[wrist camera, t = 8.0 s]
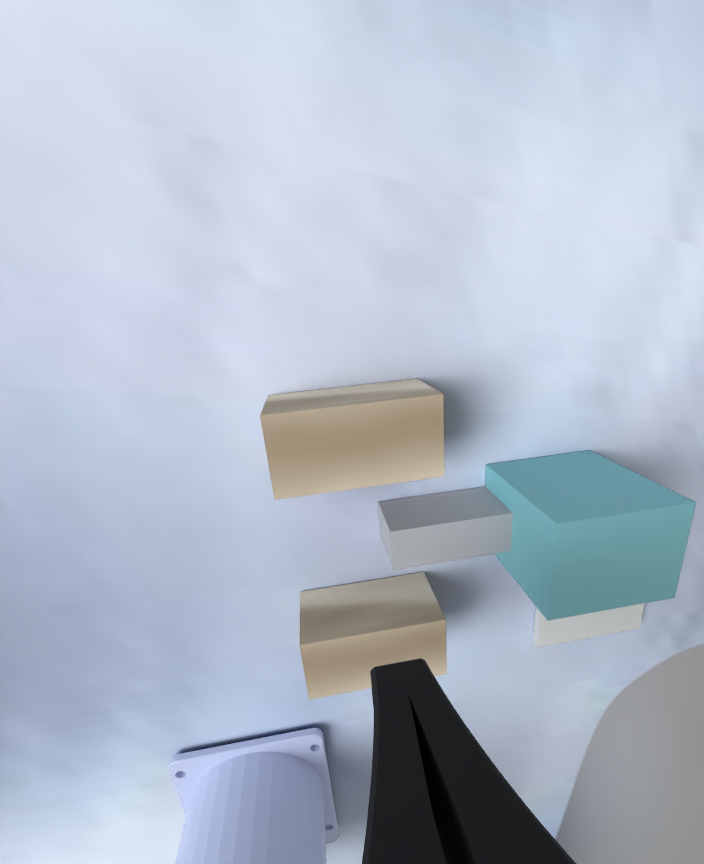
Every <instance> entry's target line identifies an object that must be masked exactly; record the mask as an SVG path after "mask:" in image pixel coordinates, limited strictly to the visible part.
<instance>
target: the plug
mask: <svg viewBox="0 0 704 864" xmlns="http://www.w3.org/2000/svg"><path fill="white" fill-rule="evenodd" d="M695 505H696V502H695V501H693V500H690V499H688V498H686V497H684V496H682V495H680V494H678V493H676V492H674V491H672V490H670V489H668V488H666V487H664V486H662V485H660V484H658V483H656V482H654V481H652V480H650V479H648V478H645V477H643V476H641V475H639V474H637V473H635V472H633V471H631V470H629V469H627V468H625V467H623V466H621V465H619V464H617V463H615V462H613V461H611V460H609V459H607V458H605V457H603V456H600V455H598V454H596V453H594V452H592V451H590V450H586V451H579V452H572V453H564V454H557V455H550V456H543V457H536V458H528V459H521V460H514V461H507V462H500V463H492V464H486V477H485V487H478V488H471V489H464V490H457V491H450V492H443V493H436V494H429V495H422V496H416V497H409V498H402V499H395V500H388V501H381V502H378V506H379V519H380V532H381V538H382V541H383V544H384V547H385V550H386V553H387V555H388V558H389V561H390V564H391V567H392V570H398V569H404V568H410V567H416V566H423V565H429V564H435V563H441V562H447V561H453V560H459V559H466V558H472V557H478V556H484V555H490V554H495V555H496V556H497V558H498V559H499V560H500V561H501V563H502V564H503V565H504V566H505V568H506V569H507V570H508V571H509V573H510V574H511V575H512V577H513V578H514V579H515V580H516V582H517V583H518V584H519V585H520V587H521V588H522V589H523V590H524V592H525V593H526V594H527V595H528V597H529V598H530V599H531V601H532V602H533V603H534V604H535V606H536V607H537V608H538V609H539V611H540V612H541V613H542V614H543V616H544V617H545V618H546V619H547V621H550V620H555V619H561V618H566V617H572V616H577V615H583V614H588V613H594V612H599V611H604V610H610V609H615V608H621V607H626V606H632V605H637V604H643V603H648V602H654V601H659V600H665V599H670V598H674V597H675V593H676V589H677V584H678V580H679V575H680V571H681V567H682V562H683V558H684V553H685V549H686V545H687V540H688V536H689V531H690V527H691V523H692V518H693V514H694V510H695Z"/></svg>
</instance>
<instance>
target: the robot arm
mask: <svg viewBox="0 0 704 864" xmlns="http://www.w3.org/2000/svg"><path fill="white" fill-rule="evenodd" d="M370 676H371V686H372V696H373V706H374V739H373V760H372V777H371V788H370V798H369V808H368V818H367V828H366V836H365V844H364V852H363V860H362V864H576V863H575V862H574V861H573V860H572V859H571V857H570V856H569V855H568V854H567V853H566V852H565V851H564V849H563V848H562V847H561V846H560V845H559V844H558V842H557V841H556V840H555V839H554V838H553V837H552V836H551V834H550V833H549V832H548V831H547V830H546V829H545V827H544V826H543V825H542V824H541V823H540V821H539V820H538V819H537V818H536V817H535V816H534V814H533V813H532V812H531V811H530V809H529V808H528V807H527V806H526V805H525V803H524V802H523V801H522V800H521V798H520V797H519V796H518V795H517V793H516V792H515V791H514V790H513V788H512V787H511V786H510V784H509V783H508V782H507V781H506V779H505V778H504V777H503V776H502V774H501V773H500V772H499V770H498V769H497V768H496V766H495V765H494V764H493V762H492V761H491V760H490V758H489V757H488V756H487V754H486V753H485V752H484V750H483V749H482V747H481V746H480V745H479V743H478V742H477V740H476V739H475V738H474V736H473V735H472V734H471V732H470V731H469V729H468V728H467V727H466V725H465V724H464V722H463V721H462V719H461V718H460V716H459V715H458V713H457V712H456V710H455V709H454V707H453V706H452V704H451V703H450V701H449V700H448V698H447V697H446V695H445V693H444V692H443V690H442V689H441V687H440V685H439V684H438V682H437V680H436V679H435V677H434V675H433V673H432V672H431V670H430V668H429V666H428V664H427V662H426V661H425V660H423V659H422V658H420V659H414V660H409V661H403V662H398V663H392V664H387V665H381V666H376V667H374V668H373V669H372V670H371V671H370ZM168 768H169V772H170V775H171V777H172V780H173V783H174V785H175V788H176V791H177V794H178V796H179V799H180V802H181V804H182V807H183V810H184V813H185V815H186V818H185V822H184V827H183V831H182V835H181V840H180V844H179V849H178V853H177V857H176V862H175V864H326V845H325V843H330V842H333V841H335V840H336V839H337V838H338V836H339V833H338V824H337V818H336V812H335V806H334V800H333V794H332V788H331V781H330V775H329V769H328V763H327V757H326V751H325V745H324V739H323V733H322V731H321V730H320V729H318V728H310V729H305V730H299V731H294V732H289V733H284V734H279V735H274V736H269V737H263V738H258V739H253V740H248V741H243V742H238V743H233V744H227V745H222V746H217V747H212V748H207V749H202V750H197V751H191V752H186V753H181V754H177V755H175V756H173V757H172V758H171V760H170V763H169V767H168Z"/></svg>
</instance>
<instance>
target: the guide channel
mask: <svg viewBox="0 0 704 864" xmlns="http://www.w3.org/2000/svg"><path fill="white" fill-rule="evenodd" d="M260 418H261V423H262V429H263V435H264V441H265V447H266V452H267V458H268V464H269V470H270V475H271V481H272V487H273V493H274V499H275V500H277V499H284V498H291V497H298V496H306V495H313V494H320V493H327V492H335V491H342V490H349V489H356V488H363V487H371V486H378V485H385V484H392V483H400V482H407V481H414V480H421V479H429V478H436V477H443V476H444V394H443V393H441V392H439V391H438V390H436V389H434V388H433V387H431V386H429V385H428V384H426V383H424V382H423V381H421V380H419V379H418V378H416V379H407V380H399V381H390V382H381V383H372V384H363V385H354V386H346V387H337V388H328V389H319V390H310V391H301V392H292V393H284V394H275V395H268V397H267V399H266V402H265V405H264V407H263V410H262V412H261V415H260ZM300 649H301V655H302V661H303V667H304V672H305V678H306V684H307V690H308V696H309V700H310V699H315V698H320V697H326V696H331V695H336V694H342V693H347V692H352V691H358V690H363V689H368V688H372V686H371V676H370V671H371V670H372V669H373V668H374V667H376V666H381V665H387V664H392V663H398V662H403V661H409V660H414V659H420V658H422V659H423V660H425V661H426V662H427V664H428V666H429V668H430V670H431V672H432V673H433V675H434V676H438V675H443V674H447V664H446V619H445V617H444V614H443V612H442V610H441V608H440V606H439V604H438V601H437V599H436V597H435V595H434V593H433V591H432V588H431V586H430V584H429V582H428V580H427V578H426V576H425V573H424V572H420V573H414V574H407V575H401V576H395V577H389V578H383V579H376V580H370V581H364V582H358V583H352V584H345V585H339V586H333V587H327V588H321V589H314V590H308V591H302V592H300Z"/></svg>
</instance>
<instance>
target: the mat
mask: <svg viewBox="0 0 704 864" xmlns="http://www.w3.org/2000/svg"><path fill="white" fill-rule="evenodd" d="M644 604H645V603H643V604H637V605H632V606H626V607H621V608H615V609H610V610H604V611H599V612H594V613H588V614H583V615H577V616H572V617H566V618H561V619H555V620H550V621H547V619H546V618H545V617H544V616H543V614H542V613H541V612H540V611H539V609H538V608H537V607H536V610H535V622H534V634H533V642H534V644H535V645H536V647H543V646H548V645H553V644H559V643H564V642H570V641H575V640H580V639H586V638H591V637H597V636H602V635H607V634H613V633H618V632H624V631H629V630H634V629H640V624H641V619H642V614H643V609H644Z"/></svg>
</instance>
